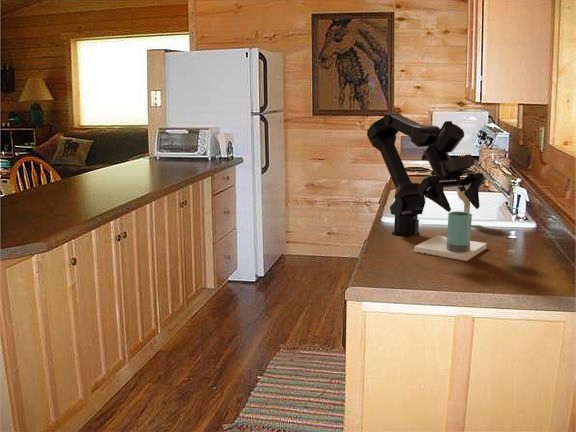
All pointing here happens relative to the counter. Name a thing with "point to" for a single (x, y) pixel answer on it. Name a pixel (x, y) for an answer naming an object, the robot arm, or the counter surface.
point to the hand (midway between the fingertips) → (464, 209)
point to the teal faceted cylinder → (459, 231)
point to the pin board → (439, 248)
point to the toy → (464, 199)
